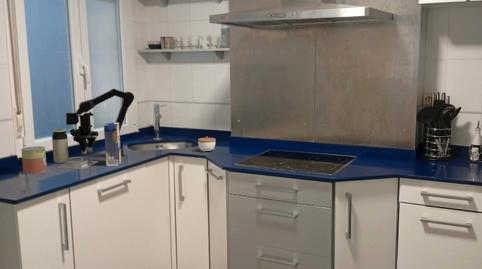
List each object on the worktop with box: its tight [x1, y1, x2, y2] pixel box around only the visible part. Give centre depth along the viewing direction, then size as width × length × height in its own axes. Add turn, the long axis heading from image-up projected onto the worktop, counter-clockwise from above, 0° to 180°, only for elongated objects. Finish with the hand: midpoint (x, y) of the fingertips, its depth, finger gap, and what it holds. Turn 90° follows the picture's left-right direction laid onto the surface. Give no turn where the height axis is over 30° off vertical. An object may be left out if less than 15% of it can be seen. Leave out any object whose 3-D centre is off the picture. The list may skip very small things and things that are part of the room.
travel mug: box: [51, 128, 70, 164], centre depth 258 cm, size 8×8×18 cm
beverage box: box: [103, 122, 122, 167], centre depth 252 cm, size 7×11×22 cm, turn 9°
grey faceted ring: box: [56, 156, 99, 170], centre depth 251 cm, size 16×16×3 cm
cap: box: [81, 146, 94, 155], centre depth 265 cm, size 6×7×3 cm
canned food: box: [20, 145, 48, 175], centre depth 237 cm, size 11×11×12 cm
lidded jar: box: [197, 136, 216, 152], centre depth 285 cm, size 11×11×9 cm
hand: (87, 150), depth 265 cm, fingers closed on cap, 7 cm apart
